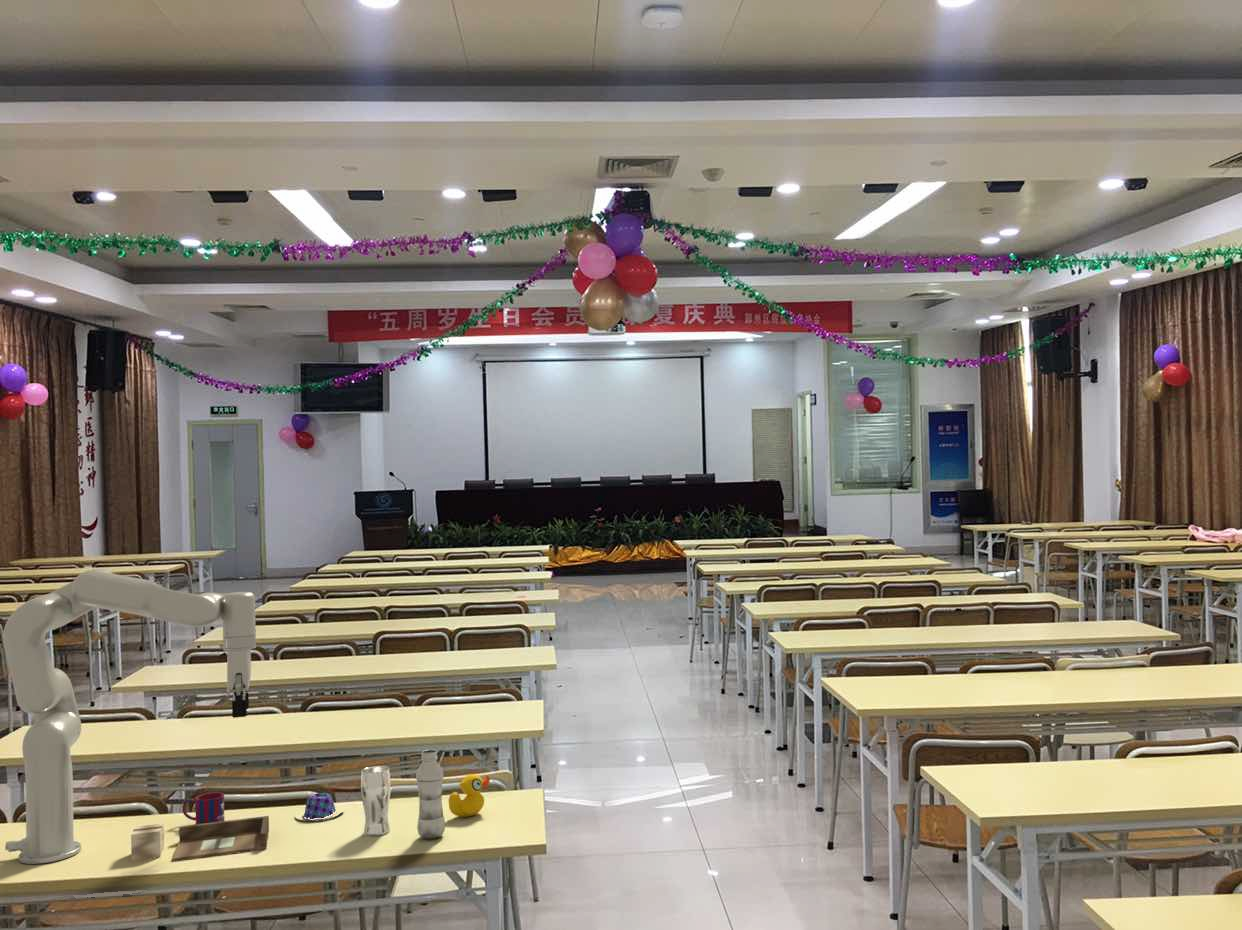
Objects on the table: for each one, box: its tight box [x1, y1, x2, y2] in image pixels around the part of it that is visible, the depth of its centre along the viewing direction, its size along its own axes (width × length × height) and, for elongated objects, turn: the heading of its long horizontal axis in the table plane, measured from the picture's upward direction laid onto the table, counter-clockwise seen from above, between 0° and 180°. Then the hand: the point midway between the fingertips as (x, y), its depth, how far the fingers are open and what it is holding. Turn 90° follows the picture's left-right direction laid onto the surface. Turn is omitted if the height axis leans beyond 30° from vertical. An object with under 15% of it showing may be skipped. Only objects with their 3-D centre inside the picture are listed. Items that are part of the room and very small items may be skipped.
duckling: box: [448, 773, 491, 818], centre depth 250 cm, size 11×5×10 cm, turn 127°
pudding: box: [294, 792, 336, 822], centre depth 254 cm, size 12×12×5 cm
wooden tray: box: [171, 815, 270, 862], centre depth 233 cm, size 20×14×4 cm
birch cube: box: [130, 823, 165, 862], centre depth 228 cm, size 6×6×6 cm
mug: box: [182, 792, 225, 825], centre depth 250 cm, size 7×10×7 cm
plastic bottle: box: [415, 749, 446, 840], centre depth 234 cm, size 6×7×20 cm
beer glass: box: [360, 765, 392, 837], centre depth 239 cm, size 7×7×15 cm
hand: (240, 713), depth 243 cm, fingers open, 9 cm apart
